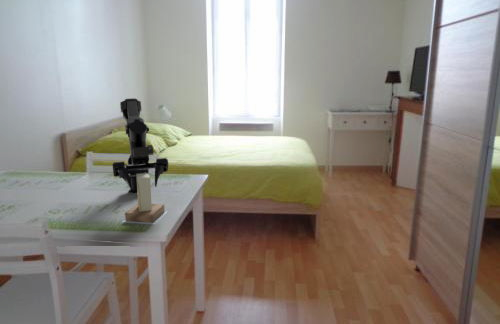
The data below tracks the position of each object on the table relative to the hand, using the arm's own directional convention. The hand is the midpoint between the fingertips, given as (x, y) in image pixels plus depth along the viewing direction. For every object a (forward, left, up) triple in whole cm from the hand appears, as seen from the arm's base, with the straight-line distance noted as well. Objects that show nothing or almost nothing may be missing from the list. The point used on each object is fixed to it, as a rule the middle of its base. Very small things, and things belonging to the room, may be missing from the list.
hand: (143, 187), depth 127 cm
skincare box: (-1, +1, -8) cm, 8 cm away
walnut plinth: (-1, +1, -11) cm, 11 cm away
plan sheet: (-1, +1, -11) cm, 11 cm away
